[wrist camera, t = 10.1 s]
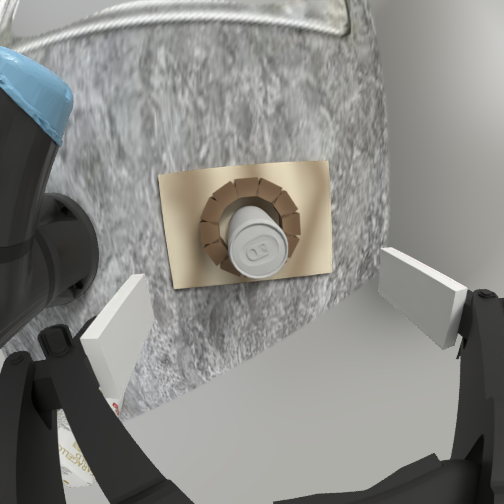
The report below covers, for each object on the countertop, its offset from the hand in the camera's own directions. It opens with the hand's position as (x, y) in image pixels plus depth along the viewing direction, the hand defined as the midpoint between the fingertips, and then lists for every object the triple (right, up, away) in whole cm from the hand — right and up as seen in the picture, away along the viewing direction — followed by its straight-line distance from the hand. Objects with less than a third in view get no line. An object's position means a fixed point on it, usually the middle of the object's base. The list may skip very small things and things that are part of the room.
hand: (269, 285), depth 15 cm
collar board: (-1, +5, +19) cm, 20 cm away
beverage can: (-1, +5, +19) cm, 20 cm away
